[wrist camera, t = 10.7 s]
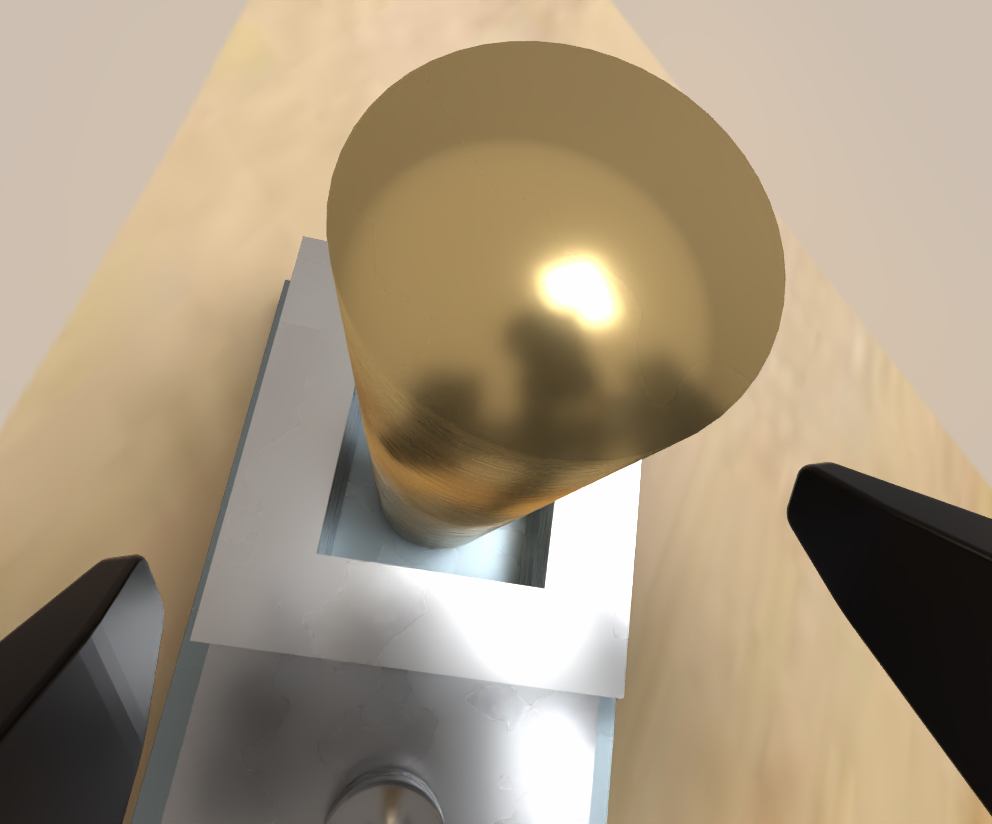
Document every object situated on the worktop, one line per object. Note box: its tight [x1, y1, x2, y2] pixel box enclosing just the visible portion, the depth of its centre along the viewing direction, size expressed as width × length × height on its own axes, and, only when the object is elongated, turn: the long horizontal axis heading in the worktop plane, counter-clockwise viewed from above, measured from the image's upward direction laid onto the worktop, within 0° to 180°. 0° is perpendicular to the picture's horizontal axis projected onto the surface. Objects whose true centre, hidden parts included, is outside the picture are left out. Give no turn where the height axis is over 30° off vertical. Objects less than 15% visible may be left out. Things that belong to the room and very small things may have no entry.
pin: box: [327, 41, 785, 549], centre depth 10 cm, size 4×4×12 cm
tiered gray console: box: [131, 236, 641, 824], centre depth 14 cm, size 22×11×4 cm, turn 171°
